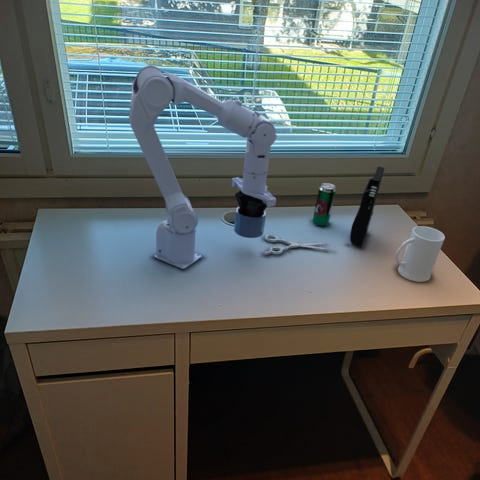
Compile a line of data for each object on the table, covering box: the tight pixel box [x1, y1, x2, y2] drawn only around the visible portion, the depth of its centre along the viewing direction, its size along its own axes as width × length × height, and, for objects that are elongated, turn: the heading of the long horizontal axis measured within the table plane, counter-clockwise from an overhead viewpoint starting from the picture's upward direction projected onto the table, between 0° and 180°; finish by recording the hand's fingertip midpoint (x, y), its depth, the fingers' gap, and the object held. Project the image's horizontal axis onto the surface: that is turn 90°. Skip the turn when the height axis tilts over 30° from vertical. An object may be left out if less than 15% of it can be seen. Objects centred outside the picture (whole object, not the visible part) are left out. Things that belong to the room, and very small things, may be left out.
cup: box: [233, 206, 267, 239], centre depth 120 cm, size 8×8×6 cm
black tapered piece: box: [349, 166, 385, 248], centre depth 134 cm, size 12×5×20 cm, turn 160°
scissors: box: [264, 234, 332, 256], centre depth 132 cm, size 11×1×20 cm
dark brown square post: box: [246, 205, 250, 217], centre depth 120 cm, size 2×2×6 cm
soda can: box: [312, 182, 337, 227], centre depth 142 cm, size 5×5×12 cm
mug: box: [395, 225, 446, 283], centre depth 123 cm, size 12×8×12 cm
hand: (249, 222), depth 121 cm, fingers closed on cup, 3 cm apart
